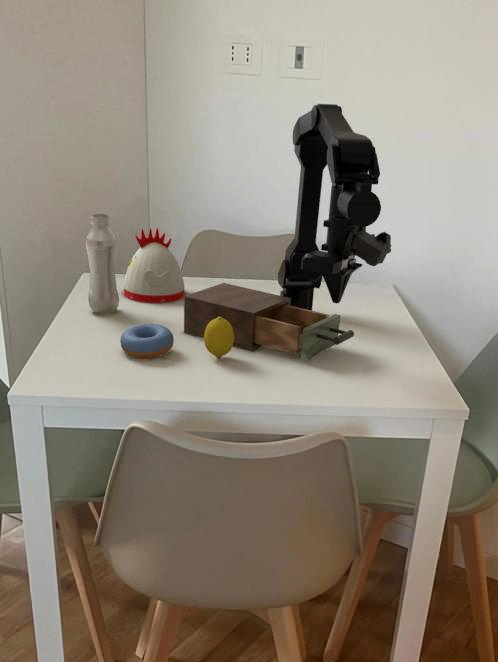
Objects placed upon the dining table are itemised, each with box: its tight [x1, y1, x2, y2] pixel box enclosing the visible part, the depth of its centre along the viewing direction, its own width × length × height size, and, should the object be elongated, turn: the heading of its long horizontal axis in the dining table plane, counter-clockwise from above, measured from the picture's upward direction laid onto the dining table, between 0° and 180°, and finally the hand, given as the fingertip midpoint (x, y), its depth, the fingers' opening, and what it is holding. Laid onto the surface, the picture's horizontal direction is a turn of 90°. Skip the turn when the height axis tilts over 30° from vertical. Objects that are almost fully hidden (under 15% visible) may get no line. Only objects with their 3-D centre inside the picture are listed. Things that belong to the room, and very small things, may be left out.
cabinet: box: [183, 282, 291, 352], centre depth 162 cm, size 17×14×8 cm
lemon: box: [203, 317, 234, 359], centre depth 149 cm, size 6×6×8 cm
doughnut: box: [119, 323, 175, 359], centre depth 151 cm, size 10×10×5 cm
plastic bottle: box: [85, 213, 120, 314], centre depth 168 cm, size 6×7×20 cm
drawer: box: [254, 304, 355, 361], centre depth 155 cm, size 20×12×6 cm, turn 56°
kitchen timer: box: [123, 227, 186, 304], centre depth 183 cm, size 14×14×15 cm
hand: (336, 302), depth 148 cm, fingers closed
